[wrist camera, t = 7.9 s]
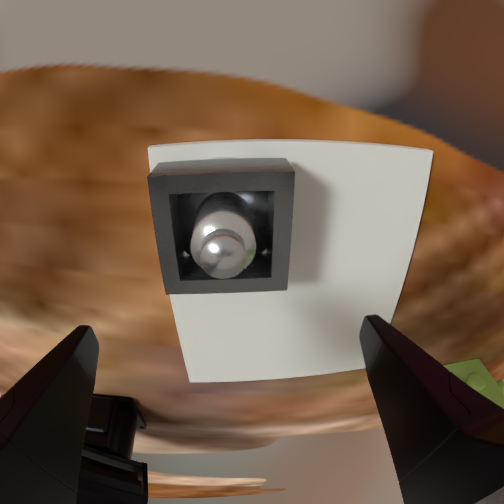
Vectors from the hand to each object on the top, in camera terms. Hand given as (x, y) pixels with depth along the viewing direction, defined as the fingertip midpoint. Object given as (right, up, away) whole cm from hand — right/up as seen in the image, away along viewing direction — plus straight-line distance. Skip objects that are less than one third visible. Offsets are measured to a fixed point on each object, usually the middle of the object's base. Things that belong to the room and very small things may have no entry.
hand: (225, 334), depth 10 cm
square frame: (-1, +4, +8) cm, 9 cm away
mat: (+4, 0, +12) cm, 13 cm away
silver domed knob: (-1, +5, +8) cm, 10 cm away
